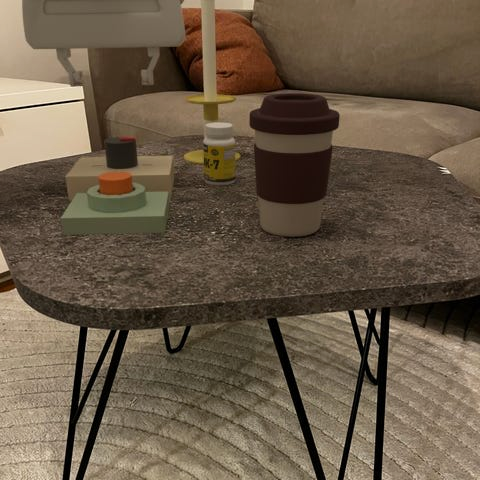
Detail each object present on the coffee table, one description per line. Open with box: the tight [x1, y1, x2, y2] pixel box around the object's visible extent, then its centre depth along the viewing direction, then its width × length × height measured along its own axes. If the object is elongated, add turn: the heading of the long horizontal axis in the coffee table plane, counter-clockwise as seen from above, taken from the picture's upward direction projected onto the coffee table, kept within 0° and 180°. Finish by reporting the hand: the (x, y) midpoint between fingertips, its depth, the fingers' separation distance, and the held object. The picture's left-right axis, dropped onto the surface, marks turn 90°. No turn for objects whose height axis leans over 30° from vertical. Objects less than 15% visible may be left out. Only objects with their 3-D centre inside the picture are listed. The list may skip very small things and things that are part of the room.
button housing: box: [60, 183, 171, 236], centre depth 73 cm, size 12×10×4 cm
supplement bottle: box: [202, 122, 236, 186], centre depth 88 cm, size 5×5×8 cm
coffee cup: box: [248, 92, 341, 238], centre depth 68 cm, size 10×10×15 cm
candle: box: [183, 0, 241, 165], centre depth 97 cm, size 10×10×27 cm
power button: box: [98, 172, 133, 195], centre depth 72 cm, size 4×4×2 cm
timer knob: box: [103, 136, 138, 169], centre depth 84 cm, size 4×4×4 cm
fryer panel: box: [65, 155, 175, 202], centre depth 86 cm, size 14×11×4 cm
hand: (112, 85), depth 79 cm, fingers open, 8 cm apart
